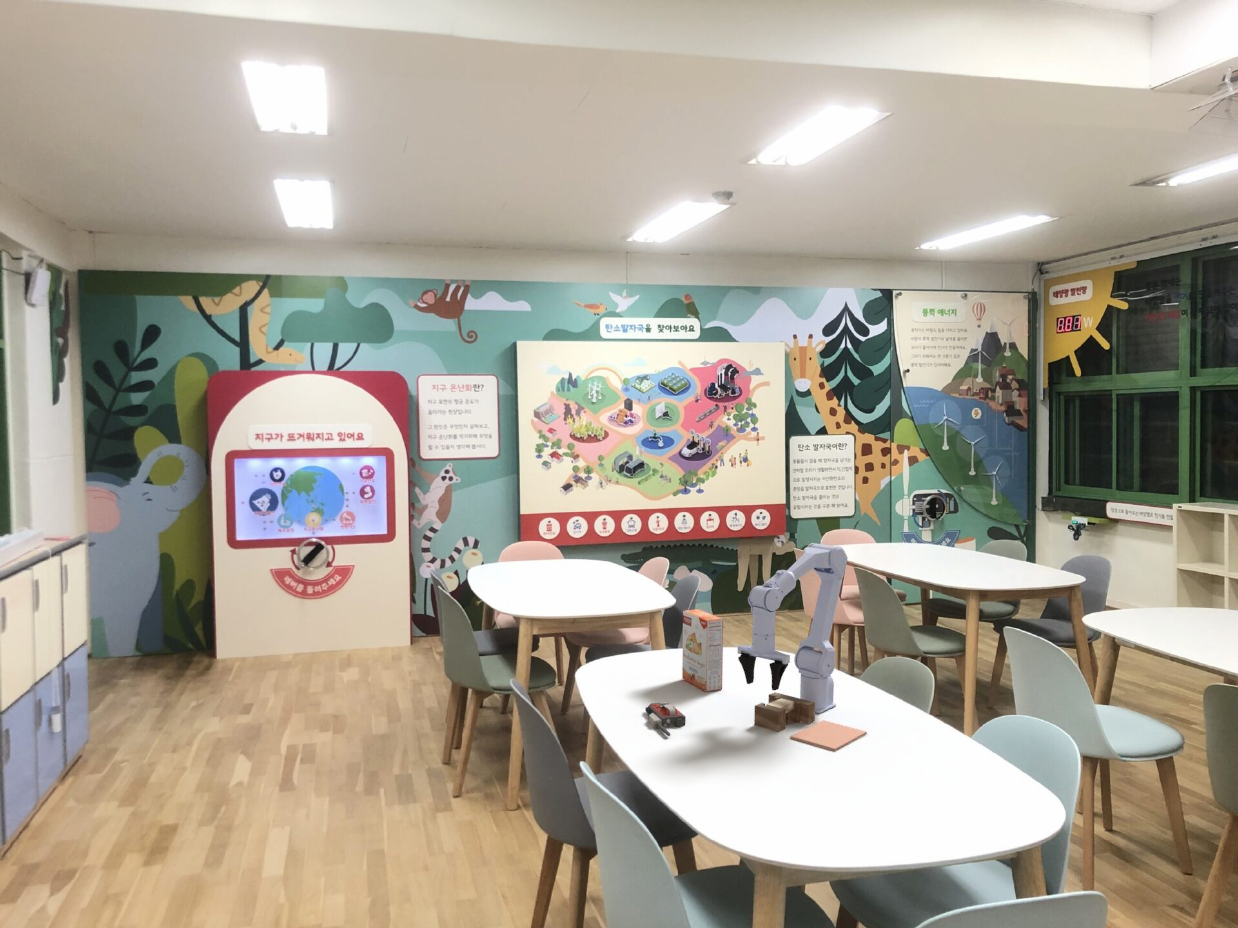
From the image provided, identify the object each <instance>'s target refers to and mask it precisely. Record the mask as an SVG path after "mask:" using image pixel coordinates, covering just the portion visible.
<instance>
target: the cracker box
mask: <svg viewBox="0 0 1238 928" xmlns="http://www.w3.org/2000/svg"><path fill="white" fill-rule="evenodd" d="M723 652H724V618H721V617H720V616H716V615H715V614H712V613H709V612H707V611H704V610H703V609H698V608H697V609H688V610H687V609H686V610H683V611H682V662H681V663H682V669H681V670H682V673H681V674H682V676H681V677H682V678H681V679H682V680H684V681H686V682H688V683H689V684H691V685H693V686H695V687H697V688H698V689H700V690H701V691H704V692H705V693H708V692H714V691H721V690H723V671H724V670H723V668H724V667H723V663H724V661H723V660H724V659H723V656H724V654H723Z"/></svg>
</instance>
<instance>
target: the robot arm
mask: <svg viewBox="0 0 1238 928" xmlns="http://www.w3.org/2000/svg"><path fill="white" fill-rule="evenodd" d="M848 558H849V557H848V555H847V553H846V551H845V550H844V548H843V547H841V546H834V545H827V544H821V543H816V542H812V543H809V544H808V545H807V547H805V548H804V549H803V553H802V555H801V556H800V557H799V558H798V559H797V560H796V561H795V562H794V563H793V564H792V565H791V566H790V567H789V568H788V569H787V570H786V569H779V570H777V571H776V572H775V574H774V575H773V576H771V577H770V578H769V579H768V580H766V581H765V582H764V583H763V584H762V585H756V586H754V587H753V588H752V589H750V592H749V595H748V596H747V602H748V605H749V606H750V613H751V614H752V629H751V630H752V634H751V635H752V637H751V641H752V642H751V643H752V644H751V645H744V644H741V645H738V646H737V655H738V654H739V655H740V656H738V659H737V660H738V661H739V663H740V665H741V667H742V670H743V673H744V677H745V681H746V684H747V685H750V684H753V683H754V679H755V664H756V662H757V661H756V660H757V658H760V659H764V660H770V661H774V662H770V663H769V668H770V674H771V690H772V691H775V692H776V691H777V690H779V688H780V684H781V681H782V678H783V675H784V673H785V671H786V669H787V668H788V666H789V664H790V663H791V655H790V654H786V653H783V652H781V651H778V650H777V649H776V648H775V647H776V646H775V645H776V644H775V643H776V613H777V611H776V610H778V609H779V608H780V607H781V604H782V601H783V599H784V597H786V595H788V594H789V593H790V592H791V591H793V590H794V589H795V588H796V585H797V581H798V580H799V579H800V578H802V577H803V576H805V575H806V574H807V573H809V572H811V571H812V570H813V572H815V574H817V575H818V577H819V578H820V580H821V581H820V586H819V591H818V594H817V599H816V604H815V608H814V613H813V617H812V621H811V626H810V630H809V635H808V636H807V637H805V638H804V639H803V640H801V641H800V643H799V647H798V649H796V652H795V654H794V659H793V660H794V665H795V667H796V669H798V673H799V674H800V685H799V686H800V690H799V698H800V699H804V700H808V701H812V702H815V714H821V713H823V712H825V710H826V711H827V710H830V709H832V708H835V707H836V706H837V703H834V693H835V692H834V691H835V689H834V687H835V685H834V684H835V683H834V679H833V677H832V674H833V672H834V671H835V667H836V653H837V652H836V649H835V647H834V646H833V645H832V644H831V642H830V637H831V633H832V630H833V629H832V627H833V624H834V619H835V615H836V610H837V605H838V601H839V597H840V592H841V587H842V583H843V579H844V576H845V571H846V568H847V562H848ZM775 649H776V650H775Z"/></svg>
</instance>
